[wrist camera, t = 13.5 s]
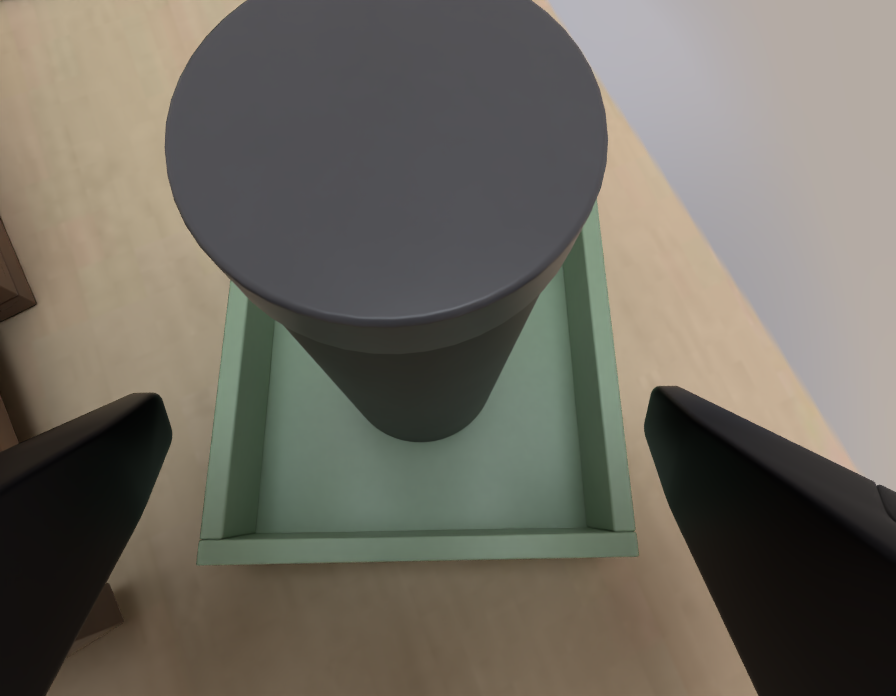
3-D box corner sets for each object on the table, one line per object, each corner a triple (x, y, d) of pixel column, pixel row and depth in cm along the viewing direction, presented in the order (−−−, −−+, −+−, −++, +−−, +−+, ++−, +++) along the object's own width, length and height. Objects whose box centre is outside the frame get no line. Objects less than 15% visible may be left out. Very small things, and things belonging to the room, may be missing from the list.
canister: (480, 460, 16) (577, 373, 5) (327, 426, 16) (85, 268, 5) (508, 316, 17) (632, -8, 6) (367, 286, 17) (247, -76, 6)
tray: (602, 546, 16) (640, 556, 13) (240, 553, 15) (195, 565, 12) (571, 227, 19) (595, 178, 16) (271, 229, 19) (241, 179, 16)
